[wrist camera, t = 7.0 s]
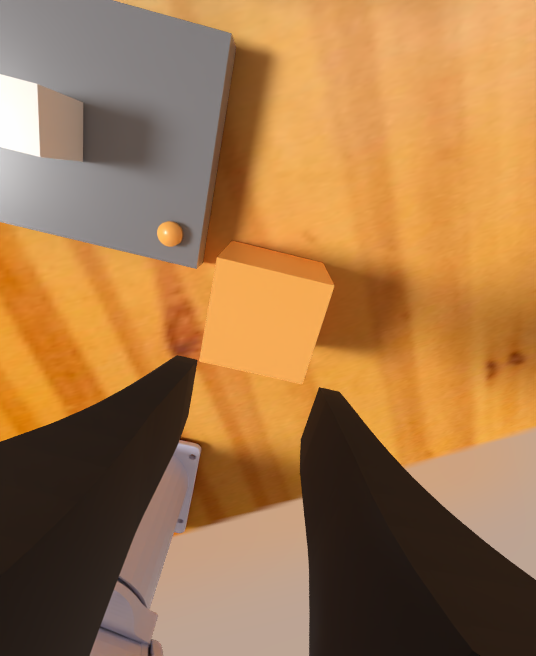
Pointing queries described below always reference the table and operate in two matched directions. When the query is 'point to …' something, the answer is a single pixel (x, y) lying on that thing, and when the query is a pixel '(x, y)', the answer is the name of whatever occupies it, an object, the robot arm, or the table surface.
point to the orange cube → (265, 312)
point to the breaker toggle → (40, 120)
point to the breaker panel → (120, 125)
